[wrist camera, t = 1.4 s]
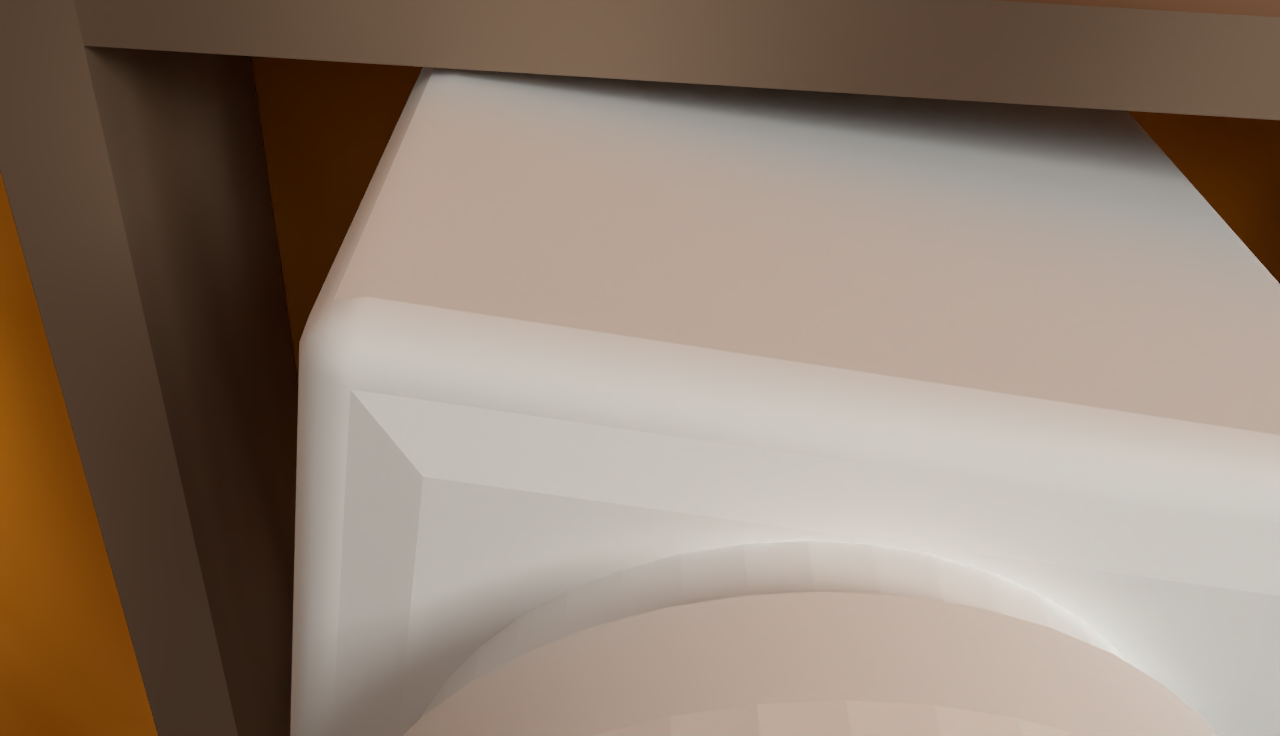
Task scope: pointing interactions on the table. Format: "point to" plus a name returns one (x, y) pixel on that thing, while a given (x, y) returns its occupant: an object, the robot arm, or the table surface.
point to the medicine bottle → (783, 425)
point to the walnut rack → (249, 256)
